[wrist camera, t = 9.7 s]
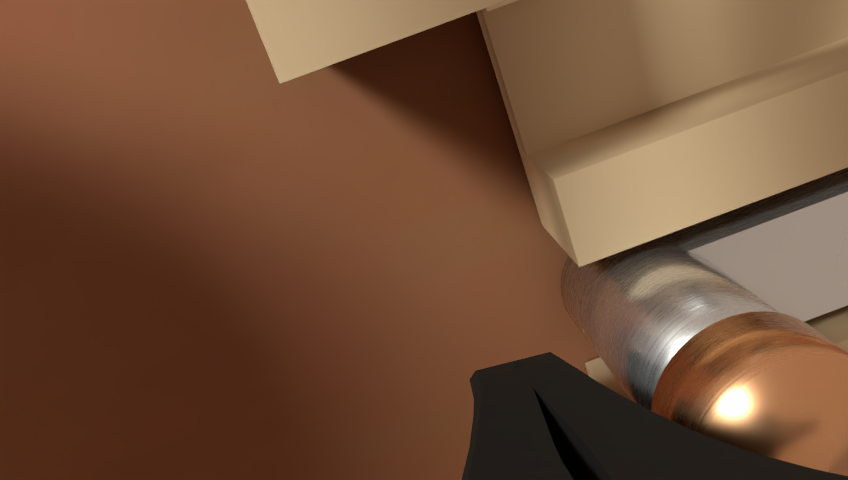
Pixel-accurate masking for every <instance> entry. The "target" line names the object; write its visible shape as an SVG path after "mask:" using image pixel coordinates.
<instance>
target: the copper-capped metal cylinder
mask: <svg viewBox="0 0 848 480" xmlns="http://www.w3.org/2000/svg"><path fill="white" fill-rule="evenodd" d="M561 295H562V299H563V303H564V306H565V308H566V310H567V312H568V314H569V315H570V317H571V318H572V320H573V321H574V322H575V324H576V325H577V326H578V328H579V329H580V330H581V332H582V333H583V334H584V336H585V337H586V339H587V340H588V341H589V343H590V344H591V345H592V347H593V348H594V349H595V351H596V352H597V354H598V355H599V356H600V358H601V359H602V360H603V362H604V363H605V364H606V366H607V367H608V369H609V370H610V371H611V373H612V374H613V375H614V377H615V378H616V379H617V381H618V382H619V384H620V385H621V386H622V388H623V389H624V390H625V392H626V393H627V394H628V396H629V397H630V399H631V400H632V401H633V402H635V403H636V404H638V405H640V406H642V407H644V408H646V409H648V410H650V411H652V412H654V413H656V414H658V415H661V416H663V417H665V418H667V419H669V420H671V421H673V422H675V423H678V424H680V425H682V426H684V427H686V428H689V429H691V430H694V431H696V432H698V433H701V434H703V435H706V436H709V437H712V438H714V439H717V440H720V441H722V442H725V443H728V444H731V445H733V446H736V447H739V448H742V449H745V450H748V451H751V452H754V453H757V454H761V455H764V456H767V457H771V458H774V459H778V460H782V461H786V462H789V463H793V464H797V465H801V466H805V467H808V468H812V469H816V470H821V471H825V472H830V473H835V474H839V475H844V476H848V353H847V352H846V351H844V350H843V349H842V348H840V347H839V346H837V345H836V344H835V343H833V342H832V341H831V340H829V339H828V338H826V337H825V336H824V335H822V334H821V333H819V332H818V331H817V330H815V329H814V328H813V327H811V326H810V325H808V324H807V323H805V322H804V321H807V320H810V319H812V318H815V317H818V316H821V315H823V314H826V313H829V312H831V311H834V310H837V309H839V308H842V307H845V306H847V305H848V167H847V168H845V169H842V170H839V171H836V172H834V173H831V174H828V175H826V176H823V177H820V178H818V179H815V180H812V181H810V182H807V183H804V184H802V185H799V186H796V187H793V188H791V189H788V190H785V191H783V192H780V193H777V194H775V195H772V196H769V197H767V198H764V199H761V200H759V201H756V202H753V203H750V204H748V205H745V206H742V207H740V208H737V209H734V210H732V211H729V212H726V213H724V214H721V215H718V216H716V217H713V218H710V219H708V220H705V221H702V222H699V223H697V224H694V225H691V226H689V227H686V228H683V229H681V230H678V231H675V232H673V233H670V234H667V235H665V236H662V237H659V238H656V239H654V240H651V241H648V242H646V243H643V244H640V245H638V246H635V247H632V248H630V249H627V250H624V251H622V252H619V253H616V254H613V255H611V256H608V257H605V258H603V259H600V260H597V261H595V262H592V263H589V264H587V265H584V266H581V267H579V266H578V265H577V264H576V263H575V262H574V261H573V260H572V258H571V257H570V256H568V258H567V260H566V262H565V265H564V268H563V271H562V277H561Z"/></svg>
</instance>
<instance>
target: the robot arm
mask: <svg viewBox="0 0 848 480" xmlns="http://www.w3.org/2000/svg"><path fill="white" fill-rule="evenodd" d="M470 383H471V387H472V392H473V397H474V417H473V425H472V433H471V441H470V447H469V452H468V456H467V461H466V465H465V469H464V473H463V477H462V480H848V476H844V475H839V474H835V473H830V472H825V471H821V470H816V469H812V468H808V467H805V466H801V465H797V464H793V463H789V462H786V461H782V460H778V459H774V458H771V457H767V456H764V455H761V454H757V453H754V452H751V451H748V450H745V449H742V448H739V447H736V446H733V445H731V444H728V443H725V442H722V441H720V440H717V439H714V438H712V437H709V436H706V435H703V434H701V433H698V432H696V431H694V430H691V429H689V428H686V427H684V426H682V425H680V424H678V423H675V422H673V421H671V420H669V419H667V418H665V417H663V416H661V415H658V414H656V413H654V412H652V411H650V410H648V409H646V408H644V407H642V406H640V405H638V404H636V403H635V402H633V401H631V400H629V399H627V398H625V397H623V396H622V395H620V394H618V393H616V392H615V391H613V390H611V389H609V388H608V387H606V386H604V385H603V384H601V383H599V382H598V381H596V380H594V379H593V378H591V377H589V376H588V375H586V374H585V373H583V372H581V371H580V370H578V369H577V368H575V367H573V366H572V365H570V364H569V363H567V362H565V361H564V360H562V359H561V358H559V357H557V356H556V355H554V354H552V353H551V352H549V353H545V354H541V355H537V356H533V357H529V358H525V359H521V360H517V361H513V362H509V363H505V364H501V365H497V366H493V367H489V368H485V369H481V370H477V371H475V373H474V374H473V375H472V377H471V378H470Z"/></svg>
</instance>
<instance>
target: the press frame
mask: <svg viewBox="0 0 848 480" xmlns="http://www.w3.org/2000/svg"><path fill="white" fill-rule="evenodd" d="M246 2H247V4H248V7H249V9H250V11H251V14H252V16H253V19H254V21H255V24H256V26H257V29H258V31H259V34H260V36H261V39H262V41H263V44H264V46H265V48H266V51H267V53H268V56H269V58H270V61H271V63H272V66H273V68H274V71H275V73H276V76H277V78H278V81H279V83H283V82H286V81H289V80H291V79H294V78H297V77H299V76H302V75H305V74H308V73H310V72H313V71H316V70H318V69H321V68H324V67H327V66H329V65H332V64H335V63H337V62H340V61H343V60H346V59H348V58H351V57H354V56H356V55H359V54H362V53H365V52H367V51H370V50H373V49H375V48H378V47H381V46H384V45H386V44H389V43H392V42H394V41H397V40H400V39H403V38H405V37H408V36H411V35H413V34H416V33H419V32H422V31H424V30H427V29H430V28H432V27H435V26H438V25H441V24H443V23H446V22H449V21H451V20H454V19H457V18H460V17H462V16H465V15H468V14H470V13H473V12H476V13H477V16H478V20H479V23H480V26H481V29H482V32H483V36H484V39H485V42H486V45H487V49H488V52H489V55H490V58H491V62H492V65H493V68H494V71H495V75H496V78H497V81H498V84H499V87H500V91H501V94H502V97H503V100H504V104H505V107H506V110H507V113H508V117H509V120H510V123H511V126H512V130H513V133H514V136H515V139H516V142H517V146H518V149H519V152H520V155H521V159H522V162H523V165H524V168H525V172H526V175H527V178H528V181H529V184H530V188H531V191H532V194H533V197H534V201H535V204H536V207H537V210H538V214H539V217H540V220H541V223H542V226H543V227H544V228H545V229H546V230H547V231H548V232H549V234H550V235H551V236H552V237H553V238H554V239H555V240H556V241H557V243H558V244H559V245H560V246H561V247H562V248H563V249H564V250H565V252H566V253H567V254H568V255H569V256H570V257H571V258H572V260H573V261H574V262H575V263H576V264H577V265H578V266H579V267H581V266H584V265H587V264H589V263H592V262H595V261H597V260H600V259H603V258H605V257H608V256H611V255H613V254H616V253H619V252H622V251H624V250H627V249H630V248H632V247H635V246H638V245H640V244H643V243H646V242H648V241H651V240H654V239H656V238H659V237H662V236H665V235H667V234H670V233H673V232H675V231H678V230H681V229H683V228H686V227H689V226H691V225H694V224H697V223H699V222H702V221H705V220H708V219H710V218H713V217H716V216H718V215H721V214H724V213H726V212H729V211H732V210H734V209H737V208H740V207H742V206H745V205H748V204H750V203H753V202H756V201H759V200H761V199H764V198H767V197H769V196H772V195H775V194H777V193H780V192H783V191H785V190H788V189H791V188H793V187H796V186H799V185H802V184H804V183H807V182H810V181H812V180H815V179H818V178H820V177H823V176H826V175H828V174H831V173H834V172H836V171H839V170H842V169H845V168H847V167H848V0H246ZM804 322H805V323H807V324H808V325H810V326H811V327H813V328H814V329H815V330H817V331H818V332H819V333H821V334H822V335H824V336H825V337H826V338H828V339H829V340H831V341H832V342H833V343H835V344H836V345H837V346H839V347H840V348H842V349H843V350H844V351H846V352H847V353H848V305H847V306H845V307H842V308H839V309H837V310H834V311H831V312H829V313H826V314H823V315H821V316H818V317H815V318H812V319H810V320H807V321H804ZM585 366H586V369H587V372H588V375H589V377H591V378H593V379H594V380H596V381H598V382H599V383H601V384H603V385H604V386H606V387H608V388H609V389H611V390H613V391H615V392H616V393H618V394H620V395H622V396H623V397H625V398H627V399H629V400H631V399H630V397H629V396H628V394H627V393H626V392H625V390H624V389H623V388H622V386H621V385H620V384H619V382H618V381H617V379H616V378H615V377H614V375H613V374H612V373H611V371H610V370H609V369H608V367H607V366H606V364H605V363H604V362H603V360H602V359H601V358H597V359H594V360H592V361H589V362H586V363H585ZM631 401H632V400H631Z"/></svg>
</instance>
